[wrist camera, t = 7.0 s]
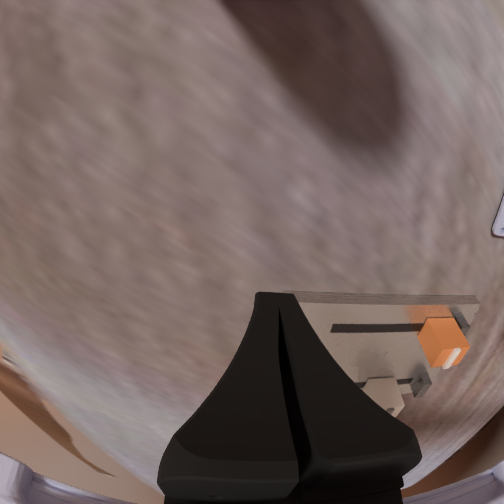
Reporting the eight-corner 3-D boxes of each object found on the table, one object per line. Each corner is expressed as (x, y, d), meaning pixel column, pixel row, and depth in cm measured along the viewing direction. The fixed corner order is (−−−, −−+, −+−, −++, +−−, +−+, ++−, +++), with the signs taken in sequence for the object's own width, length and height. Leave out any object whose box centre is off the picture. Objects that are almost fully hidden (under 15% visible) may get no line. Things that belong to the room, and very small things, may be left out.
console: (474, 295, 24) (488, 315, 22) (420, 382, 31) (427, 401, 29) (283, 290, 23) (286, 316, 21) (264, 390, 30) (265, 412, 28)
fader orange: (453, 317, 23) (471, 349, 20) (443, 335, 25) (459, 366, 21) (427, 318, 23) (444, 352, 20) (417, 337, 25) (432, 370, 21)
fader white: (395, 377, 28) (405, 408, 24) (387, 389, 29) (396, 420, 26) (368, 379, 28) (377, 412, 24) (361, 391, 29) (368, 423, 25)
